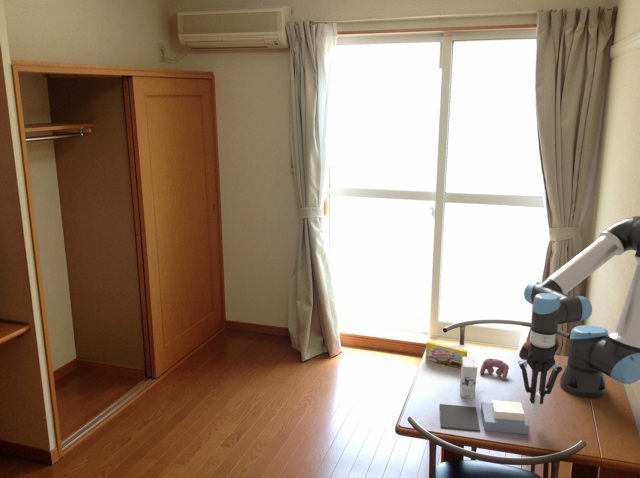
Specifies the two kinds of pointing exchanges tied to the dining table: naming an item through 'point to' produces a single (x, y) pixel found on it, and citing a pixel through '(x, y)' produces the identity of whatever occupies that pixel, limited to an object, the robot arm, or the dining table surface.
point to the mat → (459, 417)
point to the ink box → (468, 377)
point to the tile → (507, 410)
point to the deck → (501, 422)
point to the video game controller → (497, 363)
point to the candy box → (444, 355)
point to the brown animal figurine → (524, 350)
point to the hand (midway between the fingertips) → (535, 412)
